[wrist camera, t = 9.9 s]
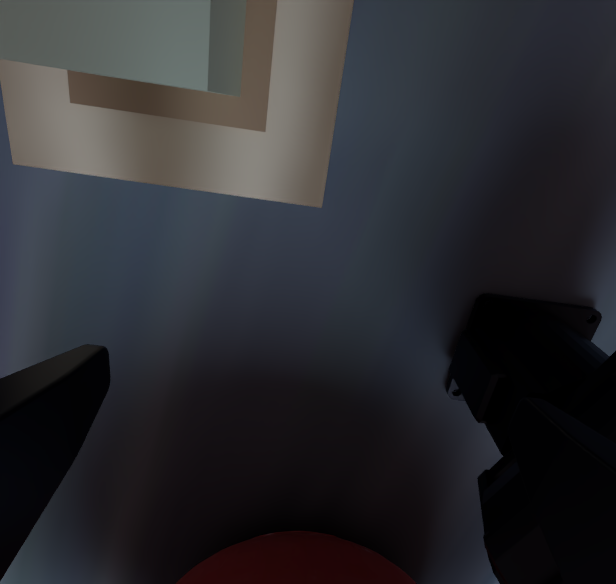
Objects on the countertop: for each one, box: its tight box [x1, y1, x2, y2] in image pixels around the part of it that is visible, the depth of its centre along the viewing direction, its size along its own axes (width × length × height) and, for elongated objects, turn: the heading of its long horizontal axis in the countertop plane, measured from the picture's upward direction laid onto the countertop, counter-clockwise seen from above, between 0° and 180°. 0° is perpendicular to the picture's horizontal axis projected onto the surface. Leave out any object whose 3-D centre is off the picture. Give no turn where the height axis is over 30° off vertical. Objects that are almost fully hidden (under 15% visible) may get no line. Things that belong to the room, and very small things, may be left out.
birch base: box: [0, 0, 354, 208], centre depth 15 cm, size 12×12×3 cm
